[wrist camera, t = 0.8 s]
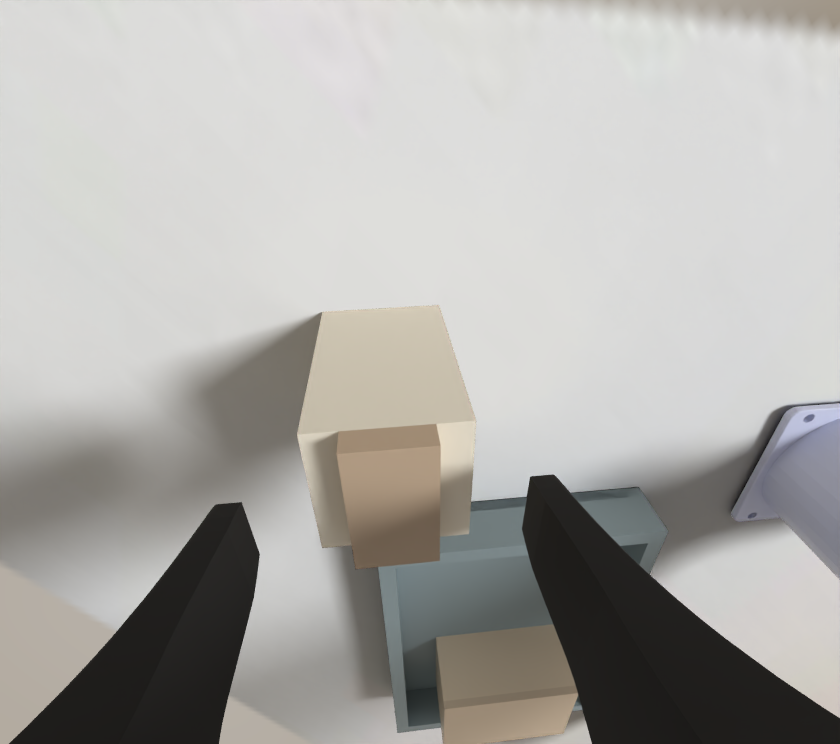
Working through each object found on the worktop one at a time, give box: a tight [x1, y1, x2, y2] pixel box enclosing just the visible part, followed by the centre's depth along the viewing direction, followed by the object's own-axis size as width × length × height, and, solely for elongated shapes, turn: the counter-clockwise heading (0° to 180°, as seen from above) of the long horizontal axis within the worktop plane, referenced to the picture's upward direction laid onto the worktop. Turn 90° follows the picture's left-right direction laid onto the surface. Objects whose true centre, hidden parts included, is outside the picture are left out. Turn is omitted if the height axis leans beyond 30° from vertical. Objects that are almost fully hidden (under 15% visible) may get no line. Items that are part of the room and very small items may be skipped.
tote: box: [378, 487, 668, 733], centre depth 27 cm, size 14×20×3 cm
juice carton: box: [297, 305, 476, 569], centre depth 15 cm, size 4×4×8 cm
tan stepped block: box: [436, 624, 578, 744], centre depth 29 cm, size 8×6×4 cm
